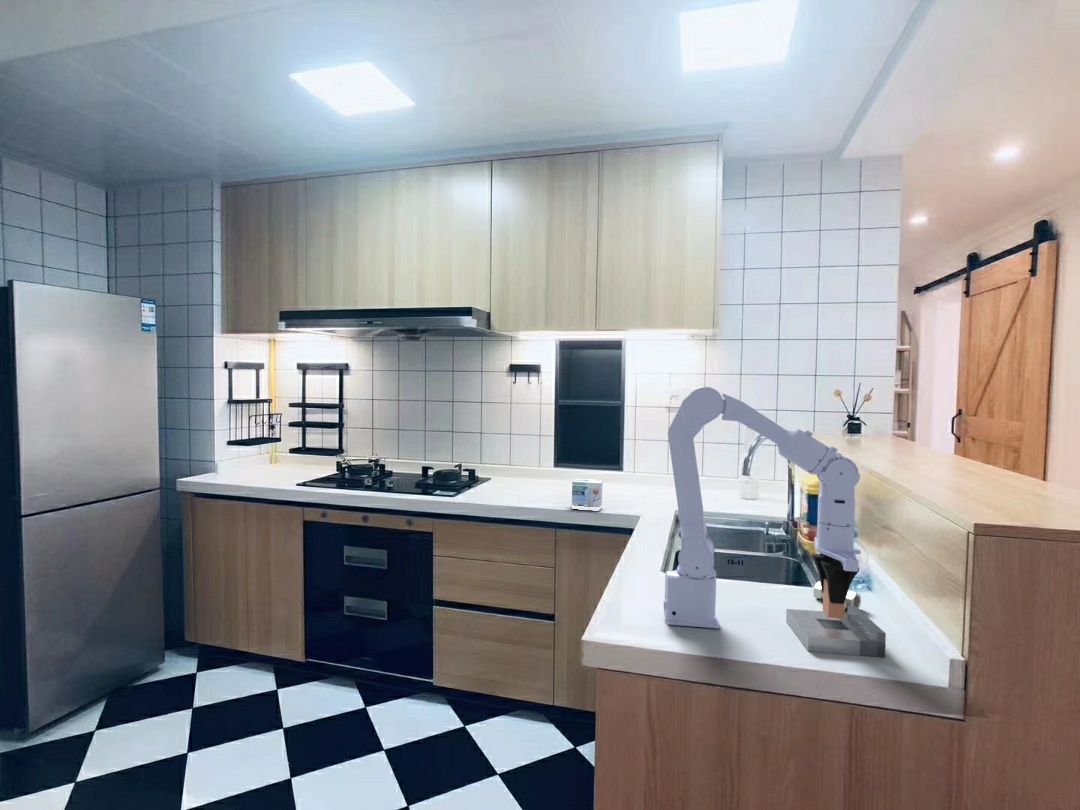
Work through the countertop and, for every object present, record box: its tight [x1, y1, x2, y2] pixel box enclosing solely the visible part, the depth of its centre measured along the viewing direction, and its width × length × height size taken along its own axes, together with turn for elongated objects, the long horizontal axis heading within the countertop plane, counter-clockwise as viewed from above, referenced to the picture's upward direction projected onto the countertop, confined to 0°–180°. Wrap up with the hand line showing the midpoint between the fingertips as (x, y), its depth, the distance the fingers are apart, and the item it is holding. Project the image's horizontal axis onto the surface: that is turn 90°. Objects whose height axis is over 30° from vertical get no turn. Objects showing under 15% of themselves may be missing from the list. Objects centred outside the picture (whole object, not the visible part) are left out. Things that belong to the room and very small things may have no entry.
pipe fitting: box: [813, 580, 862, 611], centre depth 112 cm, size 8×4×7 cm
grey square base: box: [785, 605, 887, 658], centre depth 97 cm, size 12×12×4 cm
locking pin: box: [822, 579, 845, 619], centre depth 97 cm, size 3×3×6 cm
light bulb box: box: [571, 478, 603, 507], centre depth 203 cm, size 11×7×11 cm, turn 77°
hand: (833, 599), depth 97 cm, fingers closed on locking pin, 3 cm apart
